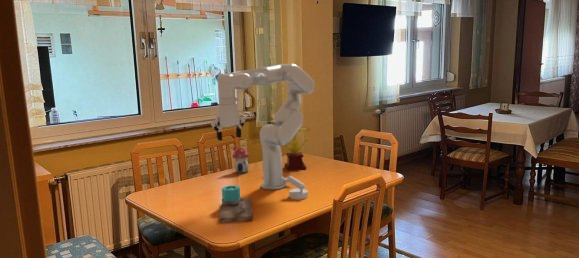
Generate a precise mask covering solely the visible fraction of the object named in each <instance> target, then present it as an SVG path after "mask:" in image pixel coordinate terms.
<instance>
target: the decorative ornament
mask: <svg viewBox="0 0 579 258" xmlns="http://www.w3.org/2000/svg"><path fill="white" fill-rule="evenodd" d="M232 150H233V151H234V152H233V154H232V159H235V160H236V161H235V162H234V169H235V172H236V174H239V175H240V174H244V175H245V174H247V173H249V166H250V165H249V163H248V161H247V159H246V158H249V157H250V154H249V152H248V151H247V150H246V149H245V148H242V147H239V148H238V146H234V147H232Z"/></svg>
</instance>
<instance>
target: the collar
mask: <svg viewBox="0 0 579 258" xmlns="http://www.w3.org/2000/svg"><path fill="white" fill-rule="evenodd" d="M229 188H233V189H229ZM240 197H241V187H240V186H239V185H234V184H233V185H231V184H229V185H225V186H223V187H222V188H221V200H222V199H223V200H224V201H232V202H233V201H236V200H239V199H240Z"/></svg>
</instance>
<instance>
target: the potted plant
mask: <svg viewBox="0 0 579 258" xmlns="http://www.w3.org/2000/svg"><path fill="white" fill-rule="evenodd" d="M300 131H307V132H310V126H307V128H300V129H299V130H298V132H297V133H296V134H295V136H294V137H293V138H292V140H291V145H292V146H289V145H288V144H287V145H284V147H286V148H287V149H288V150H289V151H290V152H286V157H287V159H286V162H285V163H284V168H285V170H286V171H288V172H289V171H291V172H292V171H302V170H303V171H304V170H307V166H306V164H305V162H304V161H303V158H304V154H303V152H302V151H301V149H302V148H303V147H304V145H305V143H306V142H307V141H309V138H308V137H307V138H305V140H304V141H303V142H302V143H301V144H300V145H299V146H298V141H296V138H297V135H298V133H299V132H300Z"/></svg>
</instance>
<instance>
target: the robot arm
mask: <svg viewBox="0 0 579 258" xmlns="http://www.w3.org/2000/svg"><path fill="white" fill-rule="evenodd" d="M282 82H286V84H285V86H286V99H285V101H284V102H283V103H282V104H281V106H280V108H278V110H277V111H276V113H275V115H274V116H273V122H274V123H273V124H272V123H269V124H264V125H263V126H262V127H261V128H260V130H259V139H260V145H261V150H262V151H261V152H262V170H263V171H262V172H263V182H261V183H260V187H261V189H264V190H270V191H271V190H273V191H274V190H280V189H283V188H286V186H287V183H289V182H288V181H287V178H288V177H284V176H283V158H282V156H283V154H282V148H281V147H282V146H283V147H285V145H288V144H290V142H292V138H293V137H294V136H295V134H296V133H297V132H298V130H299V129H301V127H302V126H303V122H304V115H303V113H302V111H300V109H301V108H302V95H309V94H312V93H313V92H314V91H315V88H316V83H315V80H314V79H313V78H312V77H311V76H310V75H309V74H308V73H307V72H306V71H305V70H303V69H302V68H301V67H300V66H298V65H297V64H295V63H279V64H275V65H274V64H273V65H268V66H264V67H256V68H251V69H246V70H245V69H244V70H239V71H234V72H233V71H232V72H230V73H225V74H224V73H222V74H218V76H217V93H218V104H217V106H216V114H215V117H216V118H215V119H214V120H213V121H211V122H210V125H211V127H212V129H213V130H214V131H215V132H216V139H217V140H218V141H220V142H221V141H223V132H222V130H223V128H229V127H235V134H236V138H242V129H243V126H244V125H245V123H246V122H245V121H246V118H245V117H243V116H241V115H240V111H239V107H238V103H237V102H238V101H239V99H238V97H236V90H247V89H250V87H251V86H266V85H267V86H268V85H271V84H275V83H276V84H277V83H282ZM298 133H299V132H298ZM298 133H297V134H298Z"/></svg>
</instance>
